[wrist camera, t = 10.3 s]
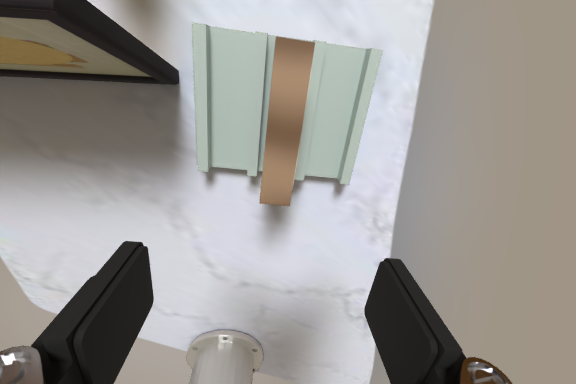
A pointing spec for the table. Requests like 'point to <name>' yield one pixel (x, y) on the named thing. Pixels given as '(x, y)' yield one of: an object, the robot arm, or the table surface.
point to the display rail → (256, 94)
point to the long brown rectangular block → (285, 118)
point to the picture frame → (74, 45)
